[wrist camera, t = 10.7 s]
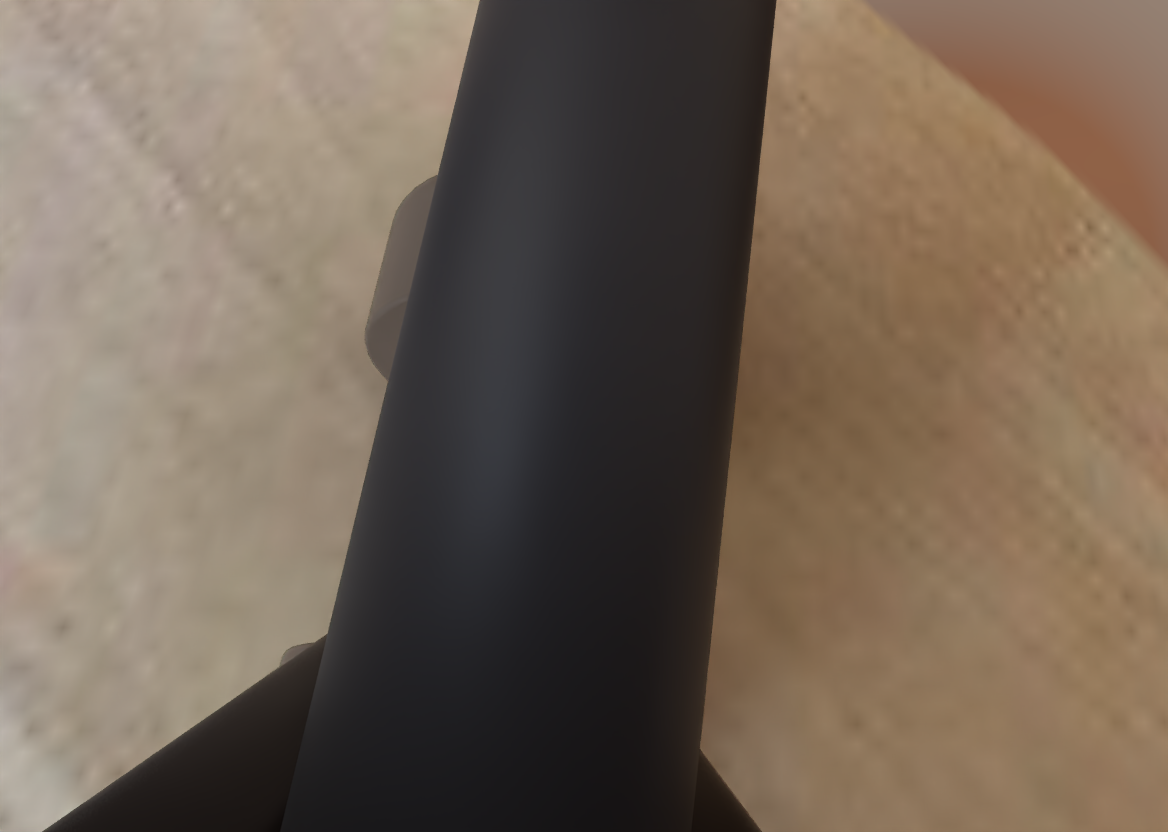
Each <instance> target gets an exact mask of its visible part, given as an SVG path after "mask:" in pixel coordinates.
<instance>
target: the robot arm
mask: <svg viewBox="0 0 1168 832" xmlns="http://www.w3.org/2000/svg"><path fill="white" fill-rule="evenodd" d="M326 638H327V634H326V635H325V636H324V637H322V638H321V639H319V640H318V641H316V642H315V643H313V644H312V645H311V646H309V647H308V648H306V649H305V650H303V651H302V652H300V653H299V654H298V655H296V656H295V657H293V658H292V659H290V660H289V661H287V662H286V663H285V664H283V665H282V666H280V667H279V668H277V669H276V670H275V671H273V672H272V673H270V674H269V675H267V676H266V677H264V678H263V679H262V680H260V681H259V682H257V683H256V684H254V685H253V686H251V687H250V688H249V689H247V690H246V691H244V692H243V693H241V694H240V695H239V696H237V697H236V698H234V699H233V700H231V701H230V702H228V703H227V704H226V705H224V706H223V707H221V708H220V709H218V710H217V711H215V712H214V713H213V714H211V715H210V716H208V717H207V718H205V719H204V720H202V721H201V722H200V723H198V724H197V725H195V726H194V727H192V728H191V729H190V730H188V731H187V732H185V733H184V734H182V735H181V736H179V737H178V738H177V739H175V740H174V741H172V742H171V743H169V744H168V745H166V746H165V747H164V748H162V749H161V750H159V751H158V752H156V753H155V754H153V755H152V756H151V757H149V758H148V759H146V760H145V761H143V762H142V763H141V764H139V765H138V766H136V767H135V768H133V769H132V770H130V771H129V772H128V773H126V774H125V775H123V776H122V777H120V778H119V779H117V780H116V781H115V782H113V783H112V784H110V785H109V786H107V787H106V788H105V789H103V790H102V791H100V792H99V793H97V794H96V795H94V796H93V797H92V798H90V799H89V800H87V801H86V802H84V803H83V804H81V805H80V806H79V807H77V808H76V809H74V810H73V811H71V812H70V813H68V814H67V815H66V816H64V817H63V818H61V819H60V820H58V821H57V822H56V823H54V824H53V825H51V826H50V827H48V828H47V829H45V830H44V831H43V832H280V830H281V826H282V822H283V817H284V813H285V809H286V805H287V801H288V797H289V792H290V788H291V784H292V780H293V776H294V772H295V767H296V763H297V759H298V755H299V751H300V747H301V742H302V738H303V734H304V730H305V726H306V722H307V718H308V713H309V709H310V705H311V701H312V697H313V693H314V688H315V684H316V680H317V676H318V672H319V668H320V663H321V659H322V655H323V651H324V647H325V643H326ZM691 832H762V831H761V830H760V828H759V827H758V826H757V824H756V823H755V822H754V820H753V819H752V818H751V816H750V815H749V814H748V812H747V811H746V810H745V808H744V807H743V806H742V804H741V803H740V802H739V800H738V799H737V798H736V796H735V795H734V794H733V792H732V791H731V790H730V788H729V787H728V786H727V784H726V783H725V782H724V781H723V779H722V778H721V777H720V775H719V774H718V773H717V771H716V770H715V769H714V767H713V766H712V765H711V763H710V762H709V761H708V759H707V758H706V757H705V755H704V754H703V753H702V751H701V750H700V751H699V761H698V771H697V781H696V790H695V800H694V810H693V820H692V829H691Z"/></svg>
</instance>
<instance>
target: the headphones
mask: <svg viewBox="0 0 1168 832" xmlns="http://www.w3.org/2000/svg"><path fill="white" fill-rule="evenodd" d="M775 9H776V0H480V2H479V6H478V10H477V14H476V19H475V23H474V27H473V31H472V35H471V39H470V43H469V48H468V52H467V56H466V60H465V64H464V68H463V73H462V77H461V81H460V85H459V89H458V93H457V98H456V102H455V106H454V110H453V114H452V118H451V123H450V127H449V131H448V135H447V139H446V143H445V147H444V152H443V156H442V160H441V164H440V168H439V172H438V175H436V176H434V177H432V178H430V179H428V180H426V181H425V182H423V183H422V184H420V185H419V186H417V187H416V188H415V189H414V190H413V191H412V192H410V193H409V194H408V195H407V196H406V197H405V199H404V200H403V201H402V203H401V204H400V206H399V207H398V209H397V210H396V213H395V216H394V219H393V222H392V226H391V230H390V234H389V238H388V242H387V246H386V250H385V253H384V257H383V261H382V265H381V269H380V273H379V277H378V281H377V285H376V289H375V293H374V297H373V301H372V305H371V308H370V312H369V316H368V320H367V324H366V328H365V344H366V348H367V352H368V355H369V357H370V359H371V361H372V362H373V364H374V365H375V367H376V368H377V369H378V371H379V372H380V373H381V374H382V375H383V376H384V377H385V378H386V379H387V380H388V385H387V389H386V393H385V397H384V401H383V405H382V410H381V414H380V418H379V422H378V426H377V430H376V435H375V439H374V443H373V447H372V451H371V455H370V460H369V464H368V468H367V472H366V476H365V480H364V485H363V489H362V493H361V497H360V501H359V505H358V509H357V514H356V518H355V522H354V526H353V530H352V534H351V539H350V543H349V547H348V551H347V555H346V559H345V564H344V568H343V572H342V576H341V580H340V584H339V589H338V593H337V597H336V601H335V605H334V609H333V614H332V618H331V622H330V626H329V630H328V634H327V638H326V643H325V647H324V651H323V655H322V659H321V663H320V668H319V672H318V676H317V680H316V684H315V688H314V693H313V697H312V701H311V705H310V709H309V713H308V718H307V722H306V726H305V730H304V734H303V738H302V742H301V747H300V751H299V755H298V759H297V763H296V767H295V772H294V776H293V780H292V784H291V788H290V792H289V797H288V801H287V805H286V809H285V813H284V817H283V822H282V826H281V830H280V832H691V829H692V820H693V810H694V800H695V790H696V781H697V771H698V761H699V751H700V741H701V732H702V722H703V712H704V702H705V693H706V683H707V673H708V663H709V654H710V644H711V634H712V624H713V614H714V605H715V595H716V585H717V575H718V566H719V556H720V546H721V536H722V527H723V517H724V507H725V497H726V487H727V478H728V468H729V458H730V448H731V439H732V429H733V419H734V409H735V400H736V390H737V380H738V370H739V360H740V351H741V341H742V331H743V321H744V312H745V302H746V292H747V282H748V273H749V263H750V253H751V243H752V233H753V224H754V214H755V204H756V194H757V185H758V175H759V165H760V155H761V146H762V136H763V126H764V116H765V107H766V97H767V87H768V77H769V67H770V58H771V48H772V38H773V28H774V19H775ZM314 643H315V642H314ZM312 644H313V643H307V644H301V645H297V646H294V647H291V648H290V649H288V650H286V652H285V653H284V654H283V656H282V658H281V662H280V666H282V665H283V664H285V663H286V662H287V661H289V660H290V659H292V658H293V657H295V656H296V655H298V654H299V653H300V652H302V651H303V650H305V649H306V648H308V647H309V646H311V645H312ZM280 666H279V667H280Z"/></svg>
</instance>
